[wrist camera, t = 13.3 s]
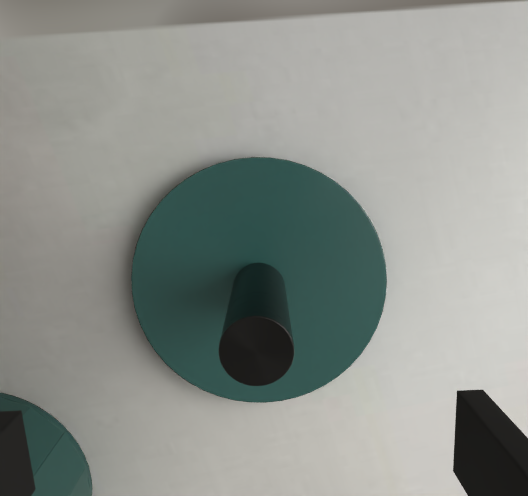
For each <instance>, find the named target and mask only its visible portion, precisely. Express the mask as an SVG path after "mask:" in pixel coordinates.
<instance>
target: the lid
mask: <svg viewBox="0 0 528 496" xmlns="http://www.w3.org/2000/svg"><path fill="white" fill-rule="evenodd" d="M131 281H132V295H133V301H134V306H135V310H136V313H137V316H138V319H139V323H140V325H141V327H142V329H143V331H144V333H145V335H146V337H147V339H148V341H149V342H150V344H151V345H152V347H153V348H154V350H155V351H156V353H157V354H158V355H159V356H160V357H161V358H162V360H163V361H164V362H165V363H166V364H167V365H168V366H169V367H170V368H171V369H172V370H174V371H175V372H176V373H177V374H178V375H179V376H181V377H182V378H184V379H185V380H187V381H188V382H189V383H191V384H193V385H195V386H197V387H199V388H200V389H202V390H204V391H207V392H209V393H212V394H214V395H217V396H220V397H224V398H228V399H232V400H237V401H244V402H274V401H282V400H287V399H291V398H295V397H298V396H301V395H304V394H307V393H310V392H312V391H314V390H316V389H318V388H320V387H322V386H324V385H326V384H327V383H329V382H330V381H332V380H333V379H335V378H336V377H338V376H339V375H340V374H341V373H343V372H344V371H345V370H346V369H347V368H348V367H350V366H351V364H352V363H353V362H354V361H355V360H356V359H357V358H358V357H359V356H360V355H361V353H362V352H363V350H364V349H365V347H366V346H367V345H368V343H369V342H370V340H371V338H372V336H373V334H374V332H375V330H376V328H377V326H378V323H379V320H380V317H381V315H382V311H383V306H384V302H385V297H386V284H387V278H386V264H385V259H384V254H383V249H382V246H381V243H380V240H379V237H378V234H377V232H376V230H375V228H374V226H373V224H372V222H371V220H370V219H369V217H368V216H367V214H366V213H365V211H364V210H363V209H362V207H361V206H360V204H359V203H358V202H357V201H356V200H355V199H354V198H353V197H352V196H351V195H350V194H349V193H348V192H347V191H346V190H345V189H344V188H342V187H341V186H340V185H339V184H338V183H336V182H335V181H333V180H332V179H330V178H329V177H327V176H325V175H324V174H322V173H320V172H318V171H316V170H314V169H312V168H309V167H307V166H305V165H302V164H298V163H295V162H291V161H288V160H282V159H276V158H265V157H250V158H242V159H234V160H230V161H226V162H222V163H219V164H216V165H213V166H211V167H208V168H206V169H203V170H201V171H199V172H197V173H196V174H194V175H192V176H190V177H189V178H187V179H185V180H184V181H183V182H181V183H180V184H179V185H178V186H176V187H175V188H174V189H172V190H171V191H170V192H169V193H168V194H167V195H166V196H165V197H164V199H163V200H162V201H161V202H160V203H159V204H158V206H157V207H156V208H155V210H154V211H153V212H152V214H151V215H150V217H149V218H148V220H147V222H146V224H145V226H144V228H143V229H142V232H141V234H140V237H139V240H138V242H137V245H136V249H135V253H134V258H133V264H132V275H131Z"/></svg>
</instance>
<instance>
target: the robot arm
mask: <svg viewBox="0 0 528 496" xmlns="http://www.w3.org/2000/svg"><path fill="white" fill-rule="evenodd" d="M453 471H454V473H455V475H456V476H457V478H458V480H459V481H460V483H461V485H462V486H463V488H464V490H465V491H466V493H467V495H468V496H528V438H527V437H526V436H525V435H524V434H523V433H522V432H521V430H520V429H519V428H518V427H517V426H516V425H515V424H514V423H513V422H512V421H511V420H510V419H509V418H508V416H507V415H506V414H505V413H504V412H503V411H502V410H501V409H500V408H499V407H498V406H497V405H496V403H495V402H494V401H493V400H492V399H491V398H490V397H489V396H488V395H487V394H486V393H485V392H484V391H483V390H466V391H457V404H456V425H455V445H454V466H453ZM35 489H36V488H35V482H34V477H33V471H32V466H31V460H30V455H29V449H28V444H27V438H26V433H25V427H24V422H23V416H22V411H21V410H19V411H0V496H31V495H32V494H33V492H34V491H35Z"/></svg>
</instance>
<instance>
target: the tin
mask: <svg viewBox="0 0 528 496" xmlns="http://www.w3.org/2000/svg"><path fill="white" fill-rule="evenodd" d="M19 410H21V411H22V416H23V422H24V427H25V433H26V438H27V444H28V449H29V455H30V460H31V466H32V471H33V477H34V482H35V488H36V489H35V491H34V492H33V494H32V495H31V496H92V480H91V475H90V470H89V466H88V464H87V461H86V458H85V456H84V454H83V452H82V450H81V448H80V447H79V445H78V443H77V442H76V441H75V439H74V438H73V436H72V435H71V434H70V433H69V432H68V430H67V429H66V428H65V427H64V426H63V425H62V424H61V423H60V422H58V421H57V420H56V419H55V418H54V417H52V416H51V415H50V414H48V413H47V412H45V411H44V410H42V409H41V408H39V407H37V406H35V405H33V404H31V403H29V402H28V401H25V400H23V399H20V398H17V397H15V396H11V395H7V394H3V393H0V411H19Z"/></svg>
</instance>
